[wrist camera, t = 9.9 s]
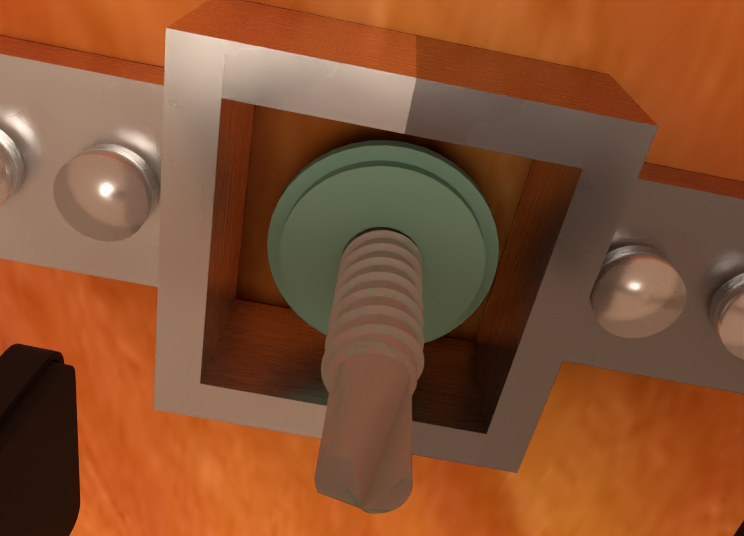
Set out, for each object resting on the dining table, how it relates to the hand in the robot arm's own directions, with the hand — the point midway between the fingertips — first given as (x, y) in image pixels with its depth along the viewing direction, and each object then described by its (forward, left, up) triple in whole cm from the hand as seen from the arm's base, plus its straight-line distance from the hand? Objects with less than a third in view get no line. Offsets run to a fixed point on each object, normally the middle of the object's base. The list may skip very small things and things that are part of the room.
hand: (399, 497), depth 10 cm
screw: (+1, 0, -9) cm, 9 cm away
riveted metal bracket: (+1, 0, -9) cm, 9 cm away
